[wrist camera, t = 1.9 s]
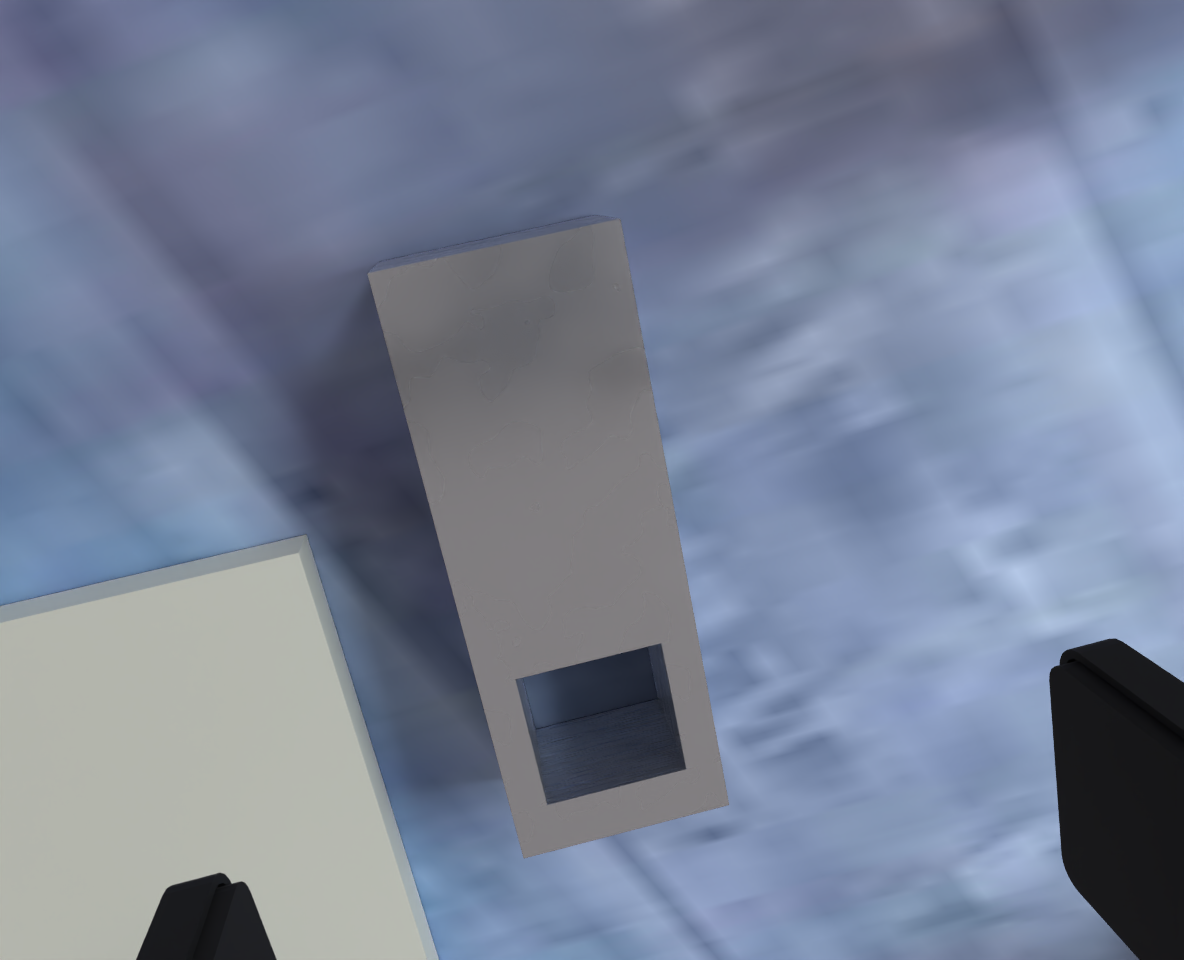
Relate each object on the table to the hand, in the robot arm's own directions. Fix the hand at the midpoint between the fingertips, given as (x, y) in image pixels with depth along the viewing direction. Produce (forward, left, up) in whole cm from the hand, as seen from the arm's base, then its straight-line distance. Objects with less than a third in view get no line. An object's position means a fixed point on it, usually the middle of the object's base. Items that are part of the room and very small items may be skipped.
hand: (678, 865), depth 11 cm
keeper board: (+9, -14, -18) cm, 25 cm away
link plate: (+2, 0, -18) cm, 18 cm away
